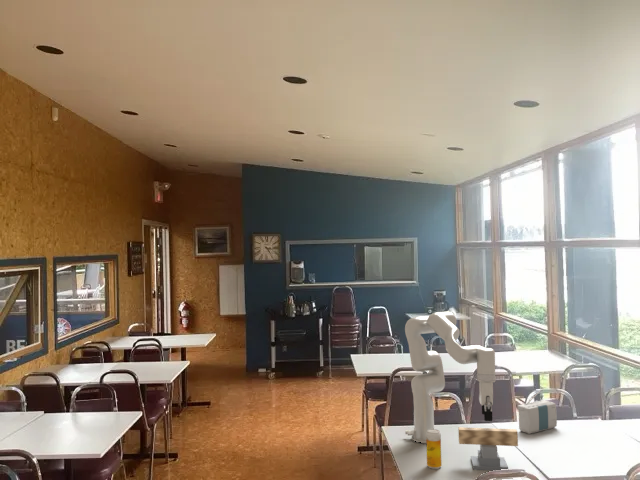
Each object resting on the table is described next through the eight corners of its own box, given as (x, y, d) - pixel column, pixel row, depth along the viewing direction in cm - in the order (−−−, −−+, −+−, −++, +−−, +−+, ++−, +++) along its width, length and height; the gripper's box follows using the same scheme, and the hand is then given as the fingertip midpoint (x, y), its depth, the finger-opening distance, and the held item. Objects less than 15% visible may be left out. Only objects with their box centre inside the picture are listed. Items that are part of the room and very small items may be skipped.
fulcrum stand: (473, 469, 234) (472, 447, 234) (470, 459, 245) (470, 438, 246) (508, 471, 231) (507, 449, 231) (504, 460, 243) (503, 439, 243)
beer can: (425, 464, 240) (424, 429, 241) (439, 463, 241) (438, 428, 241) (429, 469, 234) (428, 433, 235) (443, 469, 235) (442, 432, 235)
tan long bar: (459, 443, 239) (458, 429, 239) (458, 441, 243) (458, 427, 243) (517, 446, 235) (517, 431, 235) (516, 443, 238) (516, 429, 238)
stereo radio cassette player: (530, 435, 277) (528, 394, 278) (516, 431, 285) (515, 391, 285) (557, 428, 288) (556, 389, 289) (544, 424, 295) (543, 386, 296)
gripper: (475, 373, 249) (476, 411, 248) (479, 381, 232) (480, 423, 231) (492, 373, 248) (493, 412, 247) (498, 382, 231) (498, 423, 230)
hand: (487, 417), depth 239 cm, fingers open, 9 cm apart
